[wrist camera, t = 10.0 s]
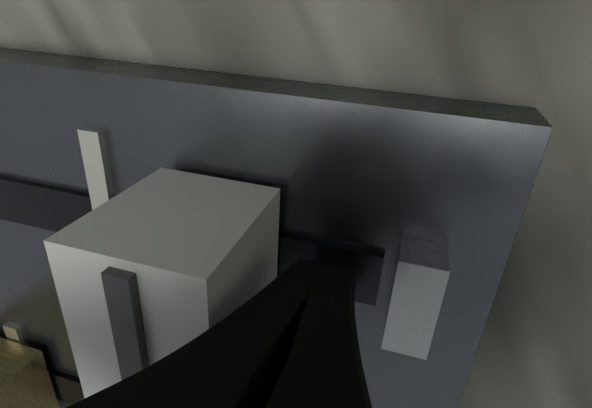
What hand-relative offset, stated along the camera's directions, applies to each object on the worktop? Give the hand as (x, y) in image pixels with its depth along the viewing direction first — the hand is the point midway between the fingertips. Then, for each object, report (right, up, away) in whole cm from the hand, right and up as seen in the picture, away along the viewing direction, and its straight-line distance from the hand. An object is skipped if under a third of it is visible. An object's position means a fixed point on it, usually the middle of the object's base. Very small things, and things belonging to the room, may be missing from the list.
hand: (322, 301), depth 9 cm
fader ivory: (-2, +1, +1) cm, 3 cm away
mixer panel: (-6, -1, +6) cm, 8 cm away
